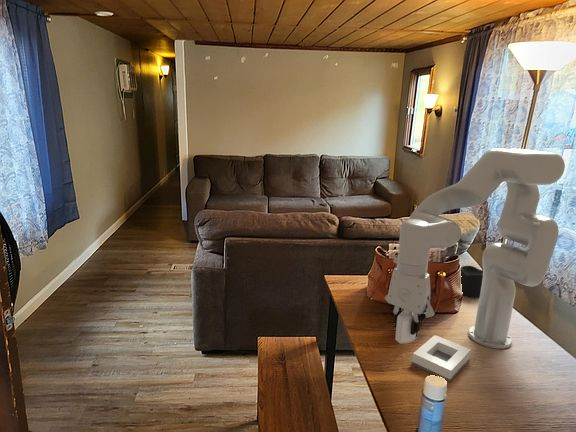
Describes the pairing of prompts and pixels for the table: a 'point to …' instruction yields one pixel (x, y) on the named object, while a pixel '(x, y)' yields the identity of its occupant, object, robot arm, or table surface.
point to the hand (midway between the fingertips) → (406, 328)
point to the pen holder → (471, 281)
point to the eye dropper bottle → (404, 327)
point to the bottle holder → (441, 357)
